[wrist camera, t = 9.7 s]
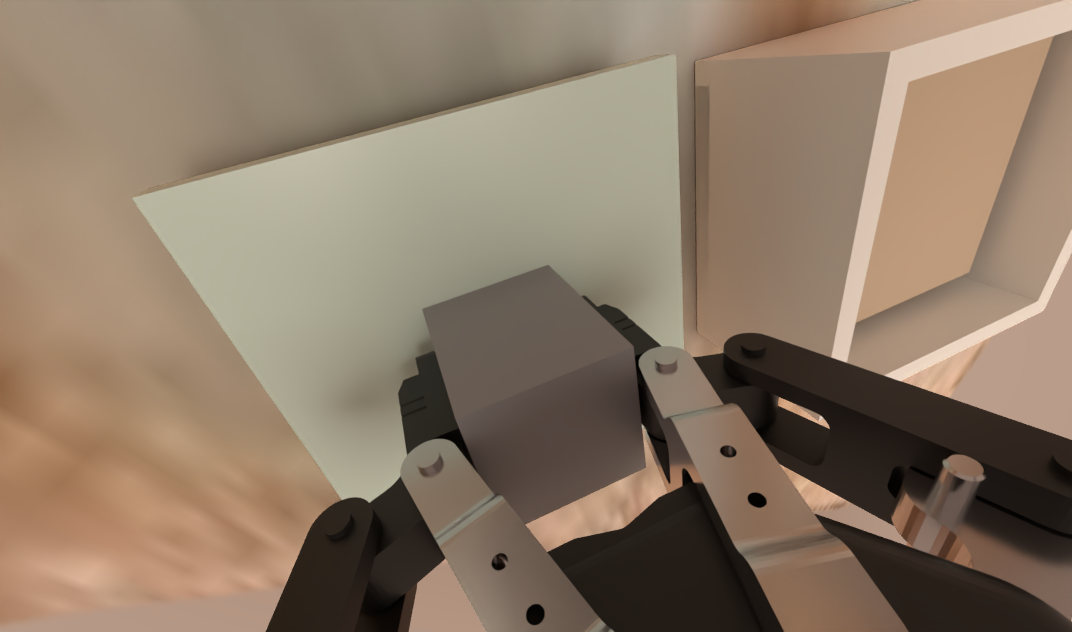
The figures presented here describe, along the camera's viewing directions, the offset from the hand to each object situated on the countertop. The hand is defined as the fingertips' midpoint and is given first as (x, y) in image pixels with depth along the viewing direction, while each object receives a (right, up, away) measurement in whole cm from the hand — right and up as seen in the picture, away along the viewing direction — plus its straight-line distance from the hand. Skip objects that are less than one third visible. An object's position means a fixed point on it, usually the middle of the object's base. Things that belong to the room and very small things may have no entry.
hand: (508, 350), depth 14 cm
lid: (-1, +1, +2) cm, 2 cm away
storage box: (+13, +7, +7) cm, 17 cm away
